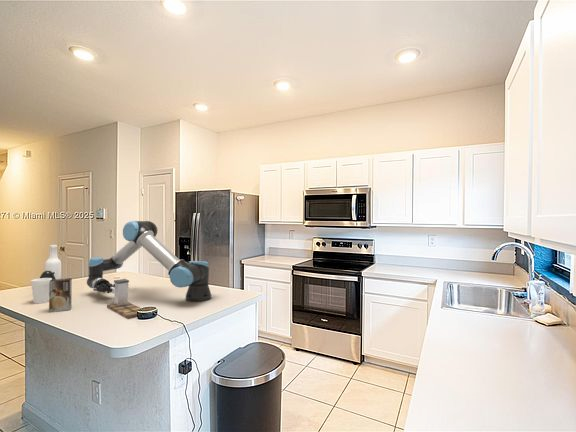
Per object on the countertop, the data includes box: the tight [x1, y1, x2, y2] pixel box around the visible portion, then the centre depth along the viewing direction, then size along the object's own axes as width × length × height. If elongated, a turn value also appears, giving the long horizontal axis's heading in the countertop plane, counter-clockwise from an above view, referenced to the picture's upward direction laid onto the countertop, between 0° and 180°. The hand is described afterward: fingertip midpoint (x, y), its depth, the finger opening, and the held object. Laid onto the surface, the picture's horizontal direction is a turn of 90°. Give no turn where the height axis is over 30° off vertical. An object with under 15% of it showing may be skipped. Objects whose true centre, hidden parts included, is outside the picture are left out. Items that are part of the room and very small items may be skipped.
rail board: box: [106, 301, 143, 320], centre depth 161 cm, size 28×10×2 cm, turn 49°
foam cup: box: [30, 277, 52, 305], centre depth 175 cm, size 10×9×13 cm
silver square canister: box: [113, 278, 130, 306], centre depth 166 cm, size 6×6×13 cm
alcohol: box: [44, 244, 62, 279], centre depth 206 cm, size 9×9×30 cm
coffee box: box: [48, 277, 73, 313], centre depth 161 cm, size 9×6×16 cm
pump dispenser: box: [39, 270, 56, 279], centre depth 192 cm, size 10×10×15 cm
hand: (115, 291), depth 171 cm, fingers closed
